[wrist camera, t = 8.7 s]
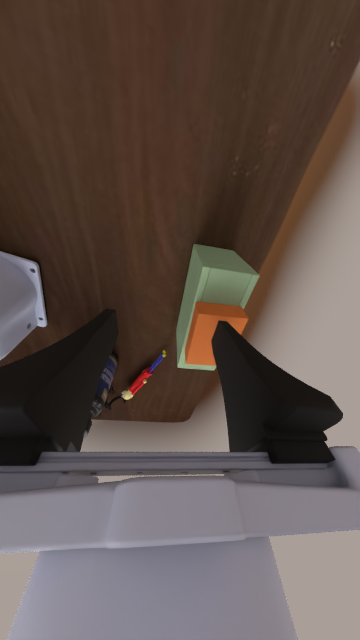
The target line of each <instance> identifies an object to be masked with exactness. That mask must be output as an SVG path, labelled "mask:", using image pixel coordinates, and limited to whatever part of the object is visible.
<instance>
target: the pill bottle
mask: <svg viewBox="0 0 360 640" xmlns="http://www.w3.org/2000/svg"><path fill="white" fill-rule="evenodd" d="M117 366H118V360H117V358H116V356H115V355H114V354H113V353H111V355H110V357H109V359H108V362H107V364H106V366H105V369H104V371H103V373H102V376H101V378H100V381H99V384H98V388H97V391H96V394H95V397H94V401H93V404H92V407H91V411H90V415H89V418H88V422H87V426H86V429H85V433H84V437H86V436H87V435H88V433H89V430H90V427H91V425H92V421H91V419H92V418H93V417H95V416H97V415H98V414H99V413H100V412H101V411H102V409H103V407H104V403H105V401H106V398H107V395H108V392H109V389H110V386H111V383H112V380H113V377H114V374H115V371H116V368H117ZM84 437H83V438H84Z"/></svg>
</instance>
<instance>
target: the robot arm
mask: <svg viewBox="0 0 360 640" xmlns="http://www.w3.org/2000/svg"><path fill="white" fill-rule="evenodd" d="M33 269H34V270H35V271H33ZM46 325H47V318H46V311H45V304H44V297H43V290H42V283H41V276H40V269H39V265H38V264H37V263H36V262H34V261H32V260H28V259H25V258H21V257H18V256H15V255H11V254H8V253H5V252H1V251H0V360H1V359H3V358H4V357H5V356H6V355H7V354H8V353H9V352H10V351H12V350H13V349H14V348H15V347H16V346H17V345H18V344H19V343H20V342H21V341H22V340H23V339H24V338H25V337H26V336H27V335H28V334H29V333H30V332H31V331H32V330H33V329H34V328H35V327H36V326H41V327H45V326H46ZM117 335H118V327H117V317H116V310H111V309H106V310H104V311H103V312H102V313H100V314H99V315H98V316H96V317H95V318H94V319H92V320H91V321H90V322H88V323H87V324H86V325H84V326H83V327H81V328H80V329H78V330H77V331H75V332H74V333H72V334H71V335H69V336H67V337H66V338H64V339H62V340H60V341H58V342H57V343H55V344H53V345H51V346H49V347H47V348H45V349H43V350H41V351H38V352H36V353H34V354H32V355H30V356H28V357H25V358H23V359H20V360H18V361H15V362H13V363H10V364H8V365H5V366H3V367H0V553H15V552H34V551H39V554H38V556H37V559H36V562H35V565H34V567H33V570H32V572H31V575H30V578H29V581H28V583H27V586H26V589H25V591H24V594H23V597H22V599H21V602H20V605H19V607H18V610H17V613H16V616H15V618H14V621H13V623H12V626H11V629H10V632H9V634H8V637H7V640H298V639H297V635H296V632H295V628H294V625H293V621H292V618H291V614H290V611H289V607H288V603H287V600H286V596H285V593H284V589H283V586H282V582H281V579H280V575H279V571H278V568H277V564H276V561H275V557H274V553H273V550H272V546H271V543H270V539H269V536H281V535H295V534H308V533H321V532H335V531H349V530H360V453H359V451H358V450H357V449H356V448H355V447H352V446H351V447H350V446H346V447H345V446H344V447H343V446H341V447H339V446H335V447H329V448H328V446H327V445H326V443H325V442H324V441H327V437H326V435H325V434H324V432H323V431H325V430H327V429H328V428H330V427H332V426H333V425H335V424H337V423H338V422H339V421H340V420H341V419H342V418H343V413H342V412H341V410H340V409H339V408H338V406H337V405H336V404H335V402H334V401H333V400H332V399H331V397H330V396H328V395H326V394H324V393H322V392H321V391H318V390H317V389H315V388H313V387H311V386H309V385H307V384H305V383H304V382H302V381H300V380H298V379H297V378H295V377H293V376H292V375H290V374H288V373H287V372H285V371H284V370H282V369H281V368H279V367H278V366H276V365H275V364H274V363H272V362H271V361H270V360H268V359H267V358H266V357H264V356H263V355H262V354H261V353H259V352H258V351H257V350H256V349H255V348H254V347H253V346H252V345H250V344H249V343H248V342H247V341H246V340H245V339H244V338H243V337H242V336H241V335H240V334H239V333H238V332H237V331H236V330H235V329H234V328H233V327H232V326H231V325H230V324H229V323H228V322H227V321H221V320H219V321H218V324H217V326H216V329H215V332H214V334H213V337H212V340H211V343H212V351H213V356H214V359H215V363H216V367H217V370H218V374H219V377H220V381H221V385H222V391H223V396H224V403H225V410H226V418H227V426H228V436H229V449H230V452H80V450H81V445H82V441H83V437H84V433H85V429H86V426H87V422H88V418H89V415H90V411H91V407H92V404H93V401H94V397H95V394H96V391H97V388H98V384H99V381H100V378H101V376H102V373H103V371H104V369H105V366H106V364H107V362H108V359H109V357H110V355H111V353H112V350H113V348H114V345H115V342H116V339H117ZM182 474H184V475H186V474H224V476H160V477H159V476H158V477H136V478H130V479H126V480H122V481H114V482H104V483H98V480H99V479H98V478H97V477H93V476H116V475H117V476H119V475H182Z"/></svg>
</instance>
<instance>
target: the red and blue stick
mask: <svg viewBox="0 0 360 640" xmlns="http://www.w3.org/2000/svg"><path fill="white" fill-rule="evenodd" d="M165 353H166V351H165V350H163V351H162V354H161V355H160V356H159V358H158V359H157V360H156V361H155V362H154V363H153V364H152V365H151V367H147V368H146V369H145V370H143V372H142V373H141V374H140V375H139V376H138V378H137V379H136V380H135V381H134V382H133V383H132V385H131V386H130V387H128V388H127V389H125V391H124V392H122V394H123V395H122V397H123V401H124V403H125V401H126V399H130V398H132V397H133V395H134V394H135V393H136V392H137V391H138V390H139V389H140V388H141V387H142V386H143V384H144V383H146V382H147V379H148V377H149V376H150V375H151V374H152V373H153V369H154V368H155V367H156V366H157V365H158V364H159V363H160V362H161V360H162V359H163V358H164V357H165V356H166V354H165ZM162 356H163V357H162ZM161 357H162V358H161ZM160 358H161V359H160ZM159 359H160V360H159ZM158 360H159V361H158ZM157 361H158V362H157ZM156 362H157V363H156ZM155 363H156V365H155V366H154V367H153V365H154V364H155ZM152 367H153V368H152ZM151 368H152V369H151ZM179 387H180V386H179Z"/></svg>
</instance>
